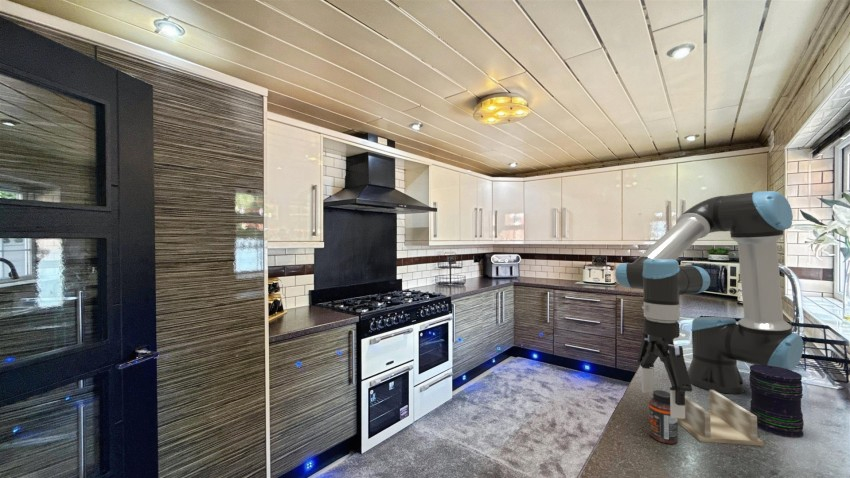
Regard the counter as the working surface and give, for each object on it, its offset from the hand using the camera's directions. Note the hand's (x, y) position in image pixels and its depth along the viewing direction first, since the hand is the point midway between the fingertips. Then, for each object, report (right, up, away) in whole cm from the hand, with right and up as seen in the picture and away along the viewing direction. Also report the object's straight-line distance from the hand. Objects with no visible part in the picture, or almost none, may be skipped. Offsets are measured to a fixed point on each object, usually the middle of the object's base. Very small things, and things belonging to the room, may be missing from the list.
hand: (661, 404), depth 85 cm
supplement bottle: (0, -9, 0) cm, 9 cm away
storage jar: (+33, -9, +4) cm, 35 cm away
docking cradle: (+16, -9, +5) cm, 19 cm away
